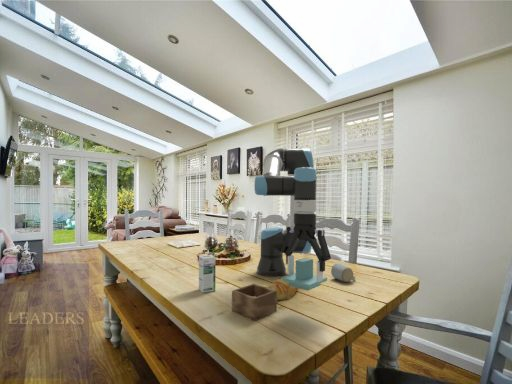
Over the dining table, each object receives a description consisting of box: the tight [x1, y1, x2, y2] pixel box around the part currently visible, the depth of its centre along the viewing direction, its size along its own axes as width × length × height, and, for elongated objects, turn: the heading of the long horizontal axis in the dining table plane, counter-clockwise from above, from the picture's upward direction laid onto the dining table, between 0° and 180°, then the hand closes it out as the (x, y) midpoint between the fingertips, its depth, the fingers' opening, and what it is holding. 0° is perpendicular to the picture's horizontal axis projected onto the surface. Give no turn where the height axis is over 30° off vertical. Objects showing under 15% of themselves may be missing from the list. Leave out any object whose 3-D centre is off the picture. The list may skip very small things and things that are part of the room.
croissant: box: [268, 277, 299, 301], centre depth 111 cm, size 21×10×8 cm, turn 135°
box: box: [231, 283, 278, 322], centre depth 96 cm, size 11×11×7 cm
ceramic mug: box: [330, 262, 356, 283], centre depth 132 cm, size 11×8×8 cm
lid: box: [281, 257, 328, 292], centre depth 93 cm, size 11×11×9 cm
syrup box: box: [198, 254, 216, 294], centre depth 117 cm, size 6×6×14 cm
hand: (304, 277), depth 93 cm, fingers closed on lid, 11 cm apart
